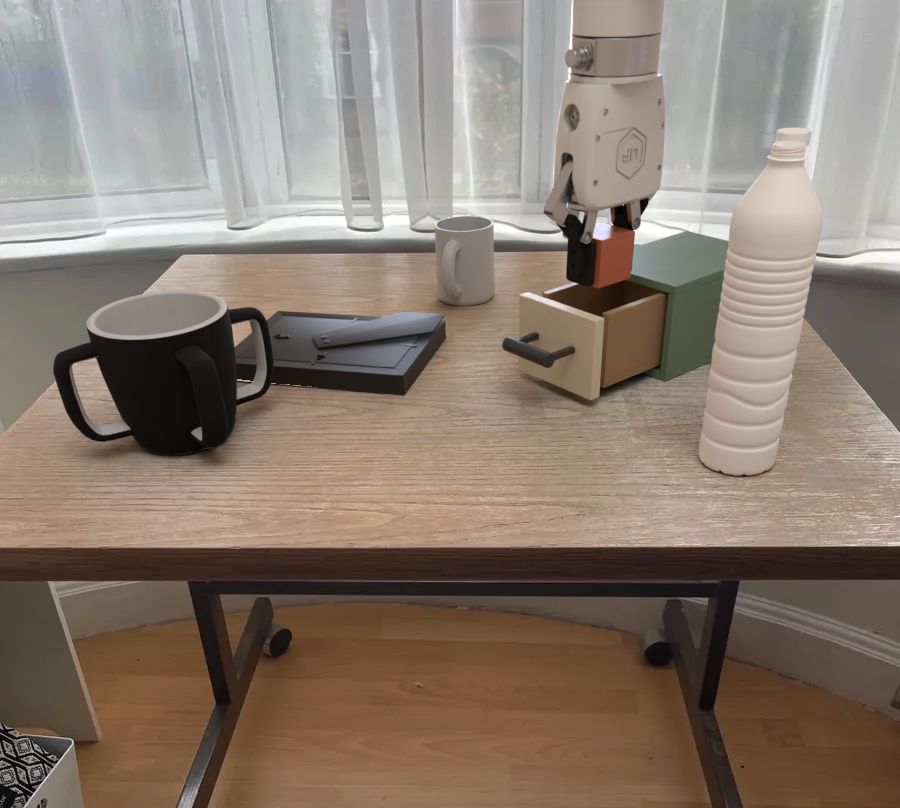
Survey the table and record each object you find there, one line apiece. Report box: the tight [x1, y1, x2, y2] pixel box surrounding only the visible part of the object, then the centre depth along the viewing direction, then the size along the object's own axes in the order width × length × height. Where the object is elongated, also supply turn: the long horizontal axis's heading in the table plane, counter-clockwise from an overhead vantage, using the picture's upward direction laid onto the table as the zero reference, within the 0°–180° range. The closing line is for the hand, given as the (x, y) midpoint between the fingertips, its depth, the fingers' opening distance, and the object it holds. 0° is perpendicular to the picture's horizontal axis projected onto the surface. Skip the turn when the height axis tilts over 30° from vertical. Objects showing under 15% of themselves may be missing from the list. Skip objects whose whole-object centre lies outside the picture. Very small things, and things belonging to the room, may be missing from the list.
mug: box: [52, 290, 274, 455], centre depth 82 cm, size 16×16×12 cm
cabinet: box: [626, 230, 729, 382], centre depth 96 cm, size 16×12×10 cm
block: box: [591, 222, 635, 288], centre depth 86 cm, size 4×4×4 cm
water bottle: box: [697, 127, 824, 476], centre depth 71 cm, size 9×6×25 cm
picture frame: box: [234, 310, 447, 396], centre depth 99 cm, size 16×3×21 cm
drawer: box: [501, 280, 669, 401], centre depth 90 cm, size 19×10×8 cm, turn 129°
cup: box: [434, 215, 495, 307], centre depth 111 cm, size 7×10×9 cm
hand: (598, 274), depth 87 cm, fingers closed on block, 4 cm apart
